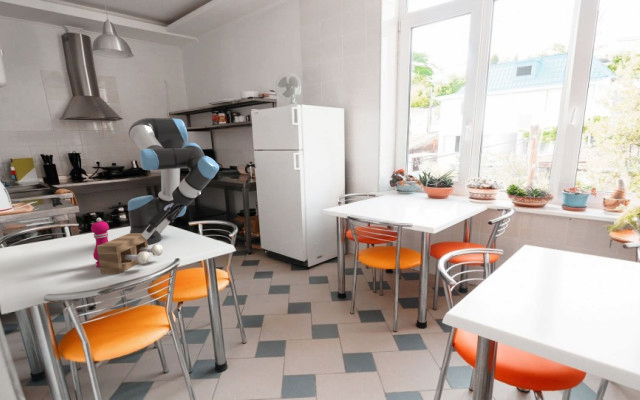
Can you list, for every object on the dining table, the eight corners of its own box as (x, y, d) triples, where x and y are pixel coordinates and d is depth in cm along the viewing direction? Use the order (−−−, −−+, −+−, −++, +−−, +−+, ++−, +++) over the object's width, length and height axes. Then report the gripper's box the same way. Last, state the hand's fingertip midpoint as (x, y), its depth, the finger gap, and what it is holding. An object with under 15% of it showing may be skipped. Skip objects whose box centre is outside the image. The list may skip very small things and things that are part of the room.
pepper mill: (119, 261, 138) (113, 215, 134) (107, 268, 131) (100, 219, 127) (104, 261, 139) (97, 216, 135) (90, 267, 131) (83, 220, 128)
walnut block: (132, 257, 143) (129, 233, 141) (149, 257, 142) (146, 233, 140) (100, 273, 125) (96, 246, 123) (119, 273, 124) (116, 246, 122)
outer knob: (131, 260, 130) (129, 249, 130) (150, 260, 130) (148, 249, 129) (123, 264, 126) (121, 253, 125) (142, 265, 125) (141, 253, 124)
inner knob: (145, 253, 139) (144, 243, 139) (163, 253, 138) (162, 243, 138) (138, 257, 135) (136, 246, 134) (156, 257, 134) (155, 246, 133)
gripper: (179, 203, 110) (141, 248, 115) (206, 194, 130) (173, 233, 135) (163, 188, 110) (125, 234, 115) (192, 182, 130) (159, 221, 135)
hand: (151, 233), depth 125 cm, fingers open, 8 cm apart
